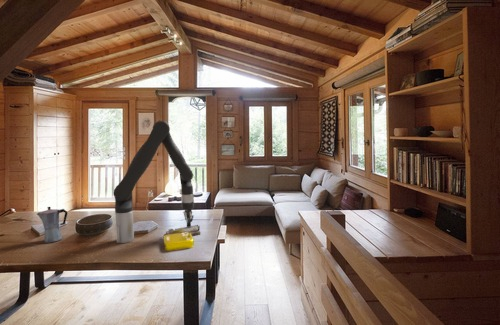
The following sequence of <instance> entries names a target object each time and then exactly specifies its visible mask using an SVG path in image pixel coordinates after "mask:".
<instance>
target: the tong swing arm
mask: <svg viewBox="0 0 500 325" xmlns="http://www.w3.org/2000/svg"><path fill="white" fill-rule="evenodd" d="M195 226H199V224H195V225H191V226H188V227H187V226H183V227H178V228H174V230H178V229H184V228H189V227H195Z"/></svg>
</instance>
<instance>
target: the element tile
mask: <svg viewBox="0 0 500 325" xmlns="http://www.w3.org/2000/svg"><path fill="white" fill-rule="evenodd" d="M163 245H164V251H166V252H171V251H179V250H184V249H185V250H186V249H191V248H193V247H194V246H195V244H194V238H193V236H192V235H191V233H189V232H184V233H176V234H168V235H167V234H165V235H163Z"/></svg>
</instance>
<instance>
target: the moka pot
mask: <svg viewBox="0 0 500 325" xmlns="http://www.w3.org/2000/svg"><path fill="white" fill-rule="evenodd" d="M61 213H64V217H63V222H62V223H60V214H61ZM36 215H37V216H38V217H39V219H40V220H41V222H42V226H43V229H44V231H43V232H44V234H43V235H44V239H43V240H44V243H45V244H46V243H54V242H58V241H61V240H62V239H63V235H62V231H61V229H60V225H61V226H64V225H65V224H66V221H67V218H68V211H67V210H65V208H61V209H51V206H47V208H46V210H43V211H39V212H38V213H36Z"/></svg>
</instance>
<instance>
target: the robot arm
mask: <svg viewBox="0 0 500 325" xmlns="http://www.w3.org/2000/svg"><path fill="white" fill-rule="evenodd" d="M170 130H171V128H170V125H169V123H168V122H167V121H165V120H158V121H156V122H154V123H153V126H152V129H151V132H149V133H150V134H149V135H148V138H146V140H145V142H144V143H143V144H142V146H141V147H139V149H138V151H136V154H135V155H134V157H133V158H132V160H131V161H130V164H129V166H128V168H127V170H126V173H125V174H124V176H123V178H122V179H121V181H120V182H119V183H118V184H117V185H116V186H115V188H114V189H113V197H114V200H115V204H114V214H115V238H116V239H115V240H116V244H125V243H130V242H133V241H134V240H135V232H134V231H135V230H134V229H135V228H134V211H133V208H134V207H133V206H134V205H133V203H134V202H133V191H134V188H135V186H136V185H137V183H138V181H139V180H140V179H141V177H142V176H143V174H144V173H145V172H146V170H148V167H149V166H150V164H151V162H153V161H152V160H153V159H154V157H155V155H156V153H157V151H158V148H159V147H160V145H161V143H162V145H163V146H164V148H165V150H166V152H167V154H168V156H169V158H170V159H171V162H172V164H173V165H174V167H175V168H176V169H177V170H178V172H179V179H180V187H181V190H180V191H181V196H180V197H181V198H180V202H181V209H182V210H184V211H183V215H184V220H185V221H186V227H188V226H192V222H193V220H194V215H193V211H192V209H194V208H195V198H194V197H195V196H194V188H193V186H194V185H193V183H192V180H193V178H194V173H193V170H192V169H191V168H190V166H189V165H188V163H187V161H186V158H185V157H184V156H183V154H182V152H181V150H180V148H178V146H177V144H176V143H175V141H174V140H173V138H172V135H171V133H170Z"/></svg>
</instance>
